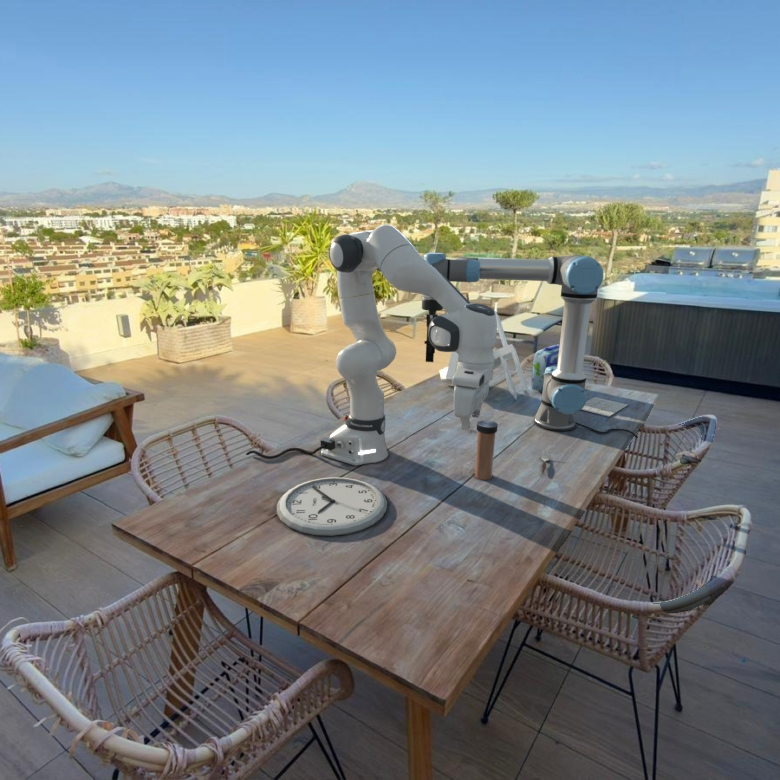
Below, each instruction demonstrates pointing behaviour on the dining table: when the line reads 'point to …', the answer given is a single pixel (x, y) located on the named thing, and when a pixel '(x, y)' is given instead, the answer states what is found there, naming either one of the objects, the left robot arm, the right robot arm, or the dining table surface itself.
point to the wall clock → (331, 506)
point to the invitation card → (603, 406)
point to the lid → (487, 426)
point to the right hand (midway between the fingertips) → (430, 357)
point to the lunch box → (543, 365)
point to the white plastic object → (499, 357)
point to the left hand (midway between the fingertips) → (470, 422)
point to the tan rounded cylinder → (484, 456)
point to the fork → (545, 460)
